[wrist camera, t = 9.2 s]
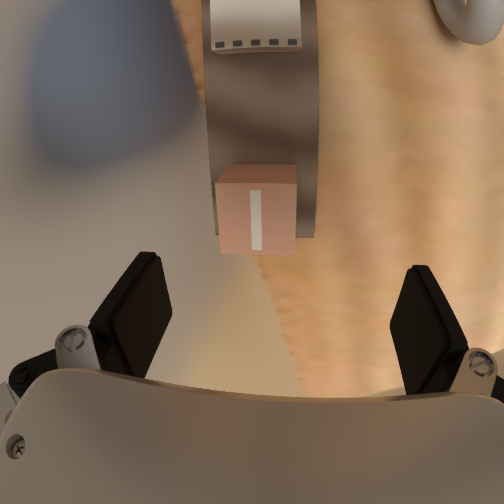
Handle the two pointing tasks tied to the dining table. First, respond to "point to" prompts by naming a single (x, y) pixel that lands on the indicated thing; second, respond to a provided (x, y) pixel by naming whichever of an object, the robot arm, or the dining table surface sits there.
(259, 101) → the board
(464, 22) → the donut
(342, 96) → the dining table surface
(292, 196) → the taped shipping carton
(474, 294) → the dining table surface
